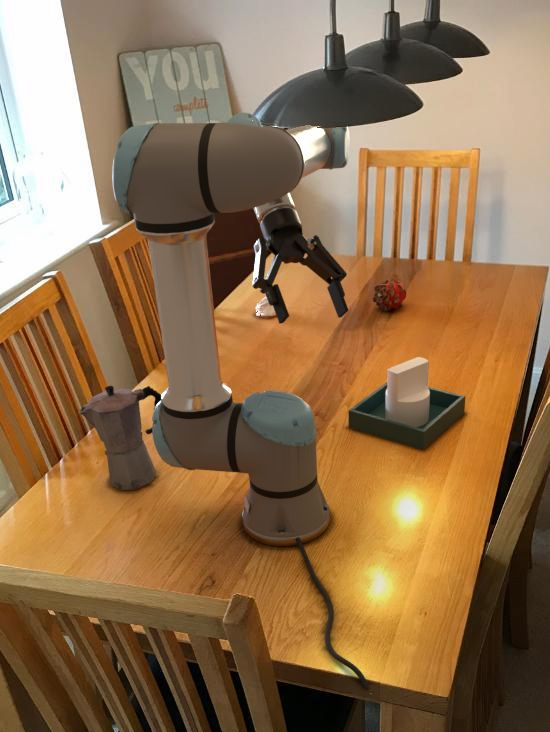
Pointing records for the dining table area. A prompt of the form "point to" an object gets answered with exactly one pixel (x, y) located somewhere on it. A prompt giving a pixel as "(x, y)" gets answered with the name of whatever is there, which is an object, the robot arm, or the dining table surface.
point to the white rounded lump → (265, 308)
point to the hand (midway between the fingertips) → (314, 317)
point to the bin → (373, 421)
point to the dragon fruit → (389, 294)
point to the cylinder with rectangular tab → (408, 393)
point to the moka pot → (122, 434)
